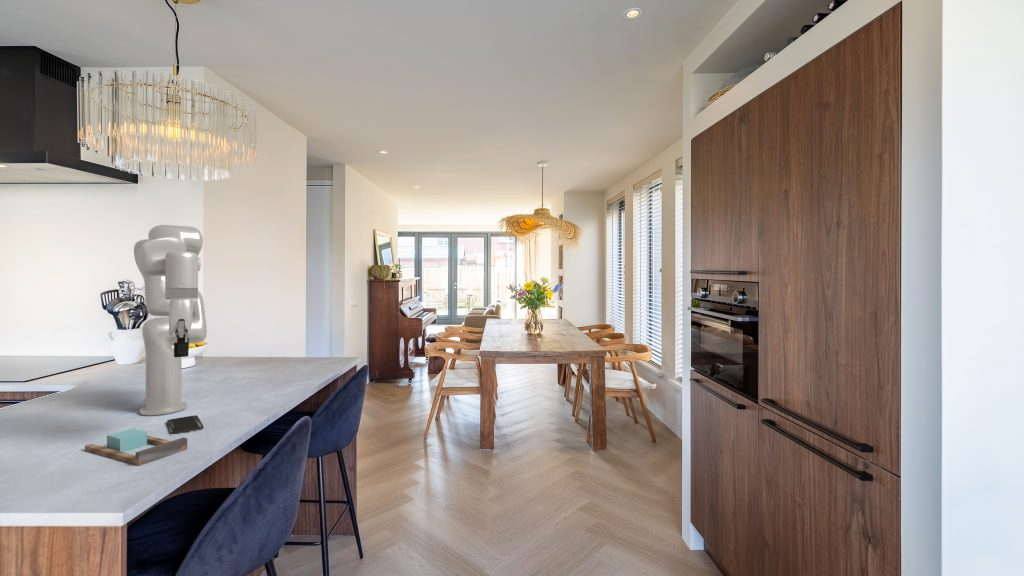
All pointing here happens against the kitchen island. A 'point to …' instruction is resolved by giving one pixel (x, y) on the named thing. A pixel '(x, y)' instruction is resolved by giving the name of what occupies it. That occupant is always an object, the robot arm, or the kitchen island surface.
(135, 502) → the kitchen island surface
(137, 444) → the block
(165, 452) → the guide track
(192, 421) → the phone
